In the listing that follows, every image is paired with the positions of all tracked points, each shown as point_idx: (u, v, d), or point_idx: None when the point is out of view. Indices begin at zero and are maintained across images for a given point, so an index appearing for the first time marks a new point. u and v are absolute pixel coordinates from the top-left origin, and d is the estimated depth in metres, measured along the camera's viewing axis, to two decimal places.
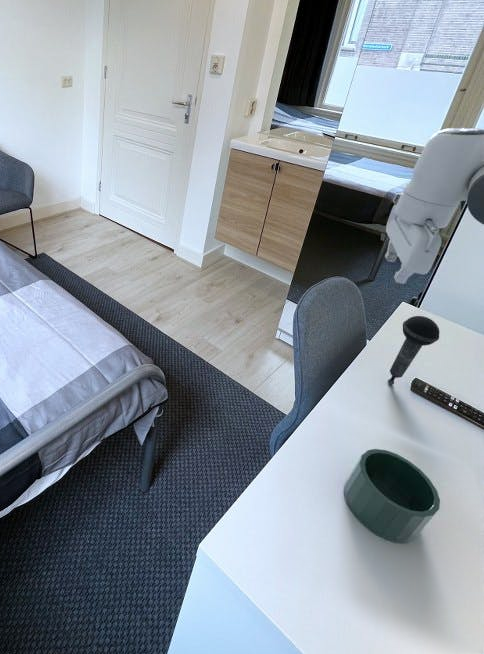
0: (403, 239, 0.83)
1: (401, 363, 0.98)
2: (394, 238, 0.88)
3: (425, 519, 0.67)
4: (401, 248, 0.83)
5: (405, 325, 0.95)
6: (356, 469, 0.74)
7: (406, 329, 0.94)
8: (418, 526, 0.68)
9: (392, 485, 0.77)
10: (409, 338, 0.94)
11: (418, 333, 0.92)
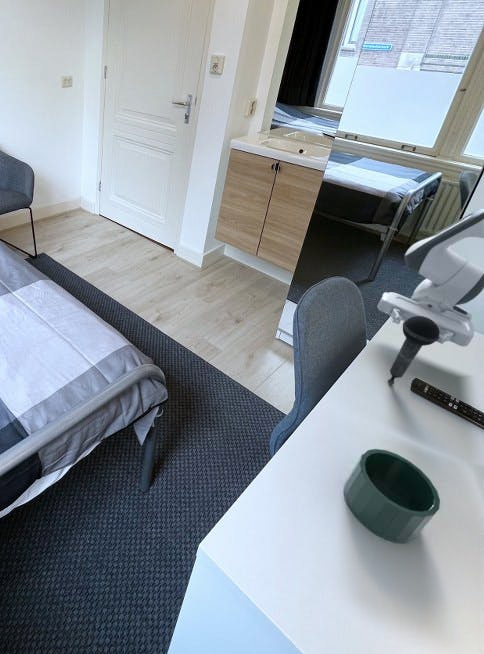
0: None
1: (402, 363, 0.98)
2: None
3: (425, 519, 0.67)
4: None
5: (405, 325, 0.95)
6: (356, 469, 0.74)
7: (406, 329, 0.94)
8: (418, 526, 0.68)
9: (392, 485, 0.77)
10: (409, 338, 0.94)
11: (418, 333, 0.92)
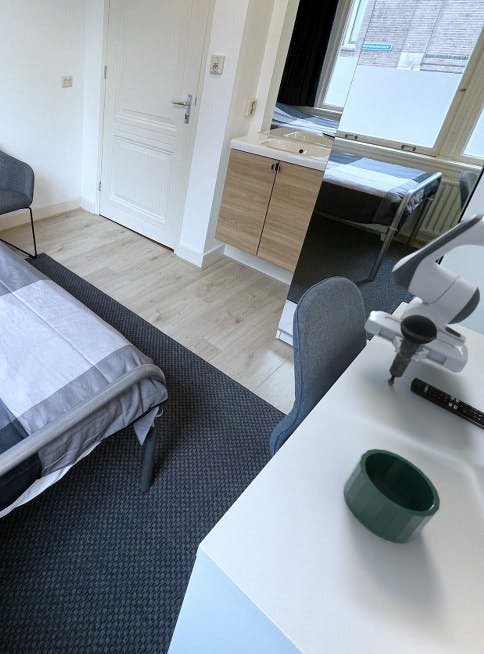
0: None
1: (400, 362, 0.98)
2: None
3: (425, 519, 0.67)
4: None
5: (402, 324, 0.96)
6: (356, 469, 0.74)
7: (403, 328, 0.95)
8: (418, 526, 0.68)
9: (392, 485, 0.77)
10: (407, 337, 0.95)
11: (415, 332, 0.93)
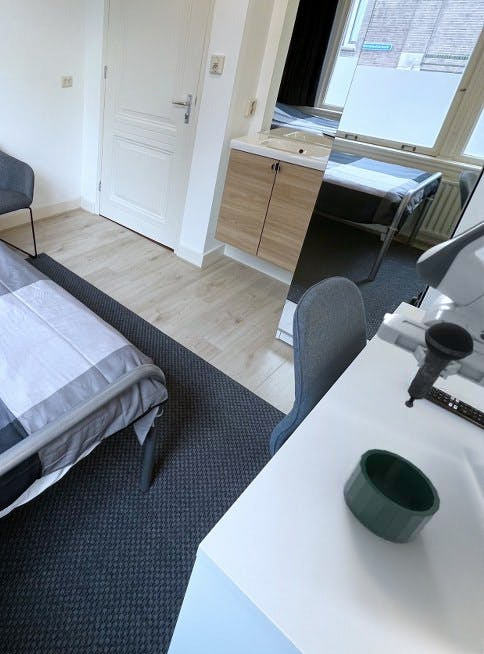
0: None
1: (426, 383, 0.77)
2: None
3: (425, 519, 0.67)
4: None
5: (430, 337, 0.74)
6: (356, 469, 0.74)
7: (434, 343, 0.73)
8: (418, 526, 0.68)
9: (392, 485, 0.77)
10: (439, 354, 0.73)
11: (452, 348, 0.71)
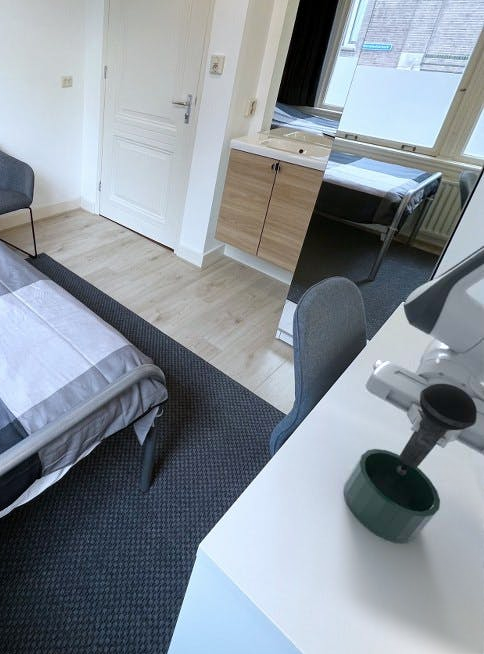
0: None
1: (422, 452, 0.66)
2: None
3: (425, 519, 0.67)
4: None
5: (429, 404, 0.63)
6: (356, 469, 0.74)
7: (434, 412, 0.62)
8: (418, 526, 0.68)
9: (392, 485, 0.77)
10: (439, 424, 0.62)
11: (456, 418, 0.60)
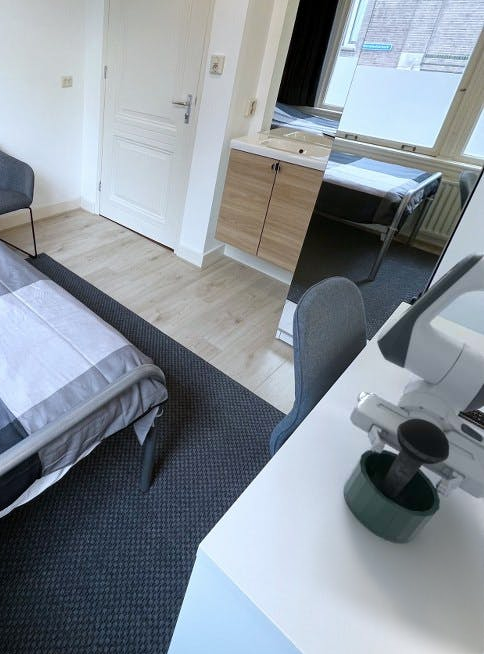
0: None
1: (400, 483, 0.70)
2: None
3: (425, 519, 0.67)
4: None
5: (405, 439, 0.67)
6: (356, 469, 0.74)
7: (409, 447, 0.66)
8: (418, 526, 0.68)
9: None
10: (414, 458, 0.66)
11: (429, 453, 0.64)
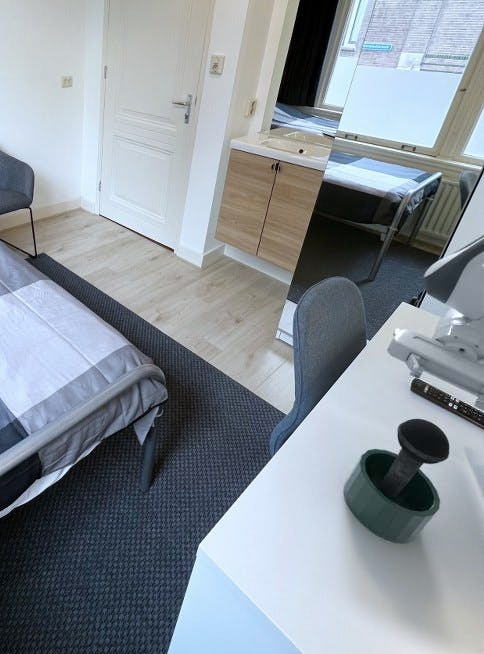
0: None
1: (400, 483, 0.70)
2: None
3: (425, 519, 0.67)
4: None
5: (405, 439, 0.67)
6: (356, 469, 0.74)
7: (409, 446, 0.66)
8: (418, 526, 0.68)
9: None
10: (414, 458, 0.66)
11: (429, 453, 0.64)
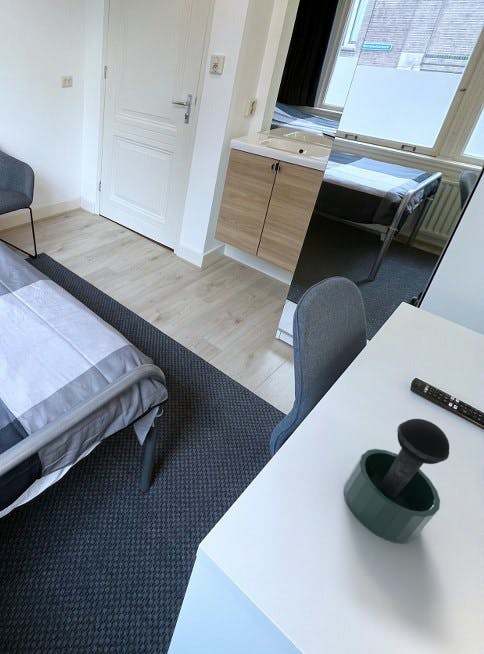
0: None
1: (400, 483, 0.70)
2: None
3: (425, 519, 0.67)
4: None
5: (405, 439, 0.67)
6: (356, 469, 0.74)
7: (409, 446, 0.66)
8: (418, 526, 0.68)
9: None
10: (414, 458, 0.66)
11: (429, 453, 0.64)
